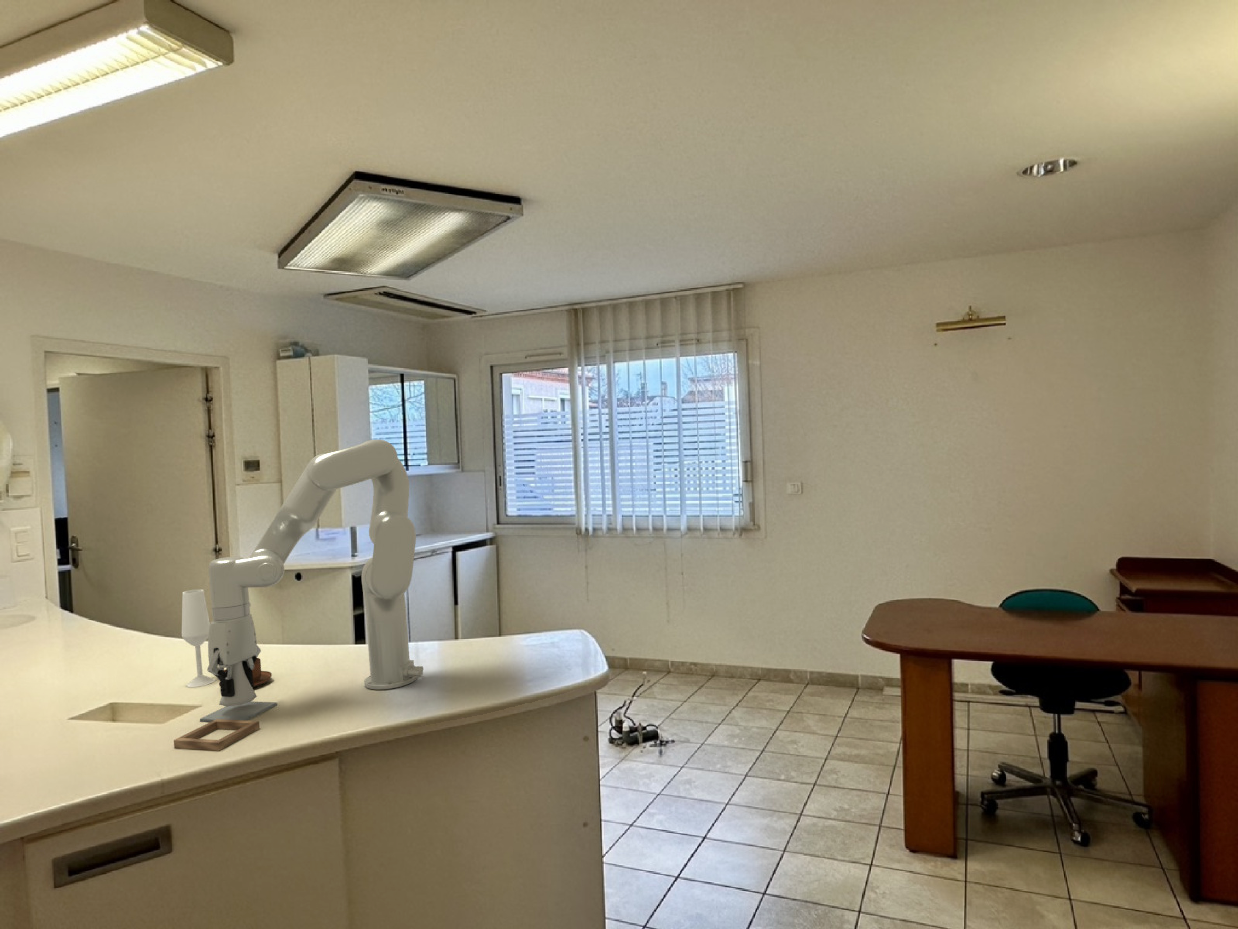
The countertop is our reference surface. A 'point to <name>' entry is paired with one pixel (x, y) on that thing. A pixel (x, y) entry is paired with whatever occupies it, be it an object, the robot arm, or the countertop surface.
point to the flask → (239, 688)
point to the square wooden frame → (241, 731)
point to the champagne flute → (196, 629)
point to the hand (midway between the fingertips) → (237, 691)
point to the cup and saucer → (258, 674)
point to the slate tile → (239, 711)
